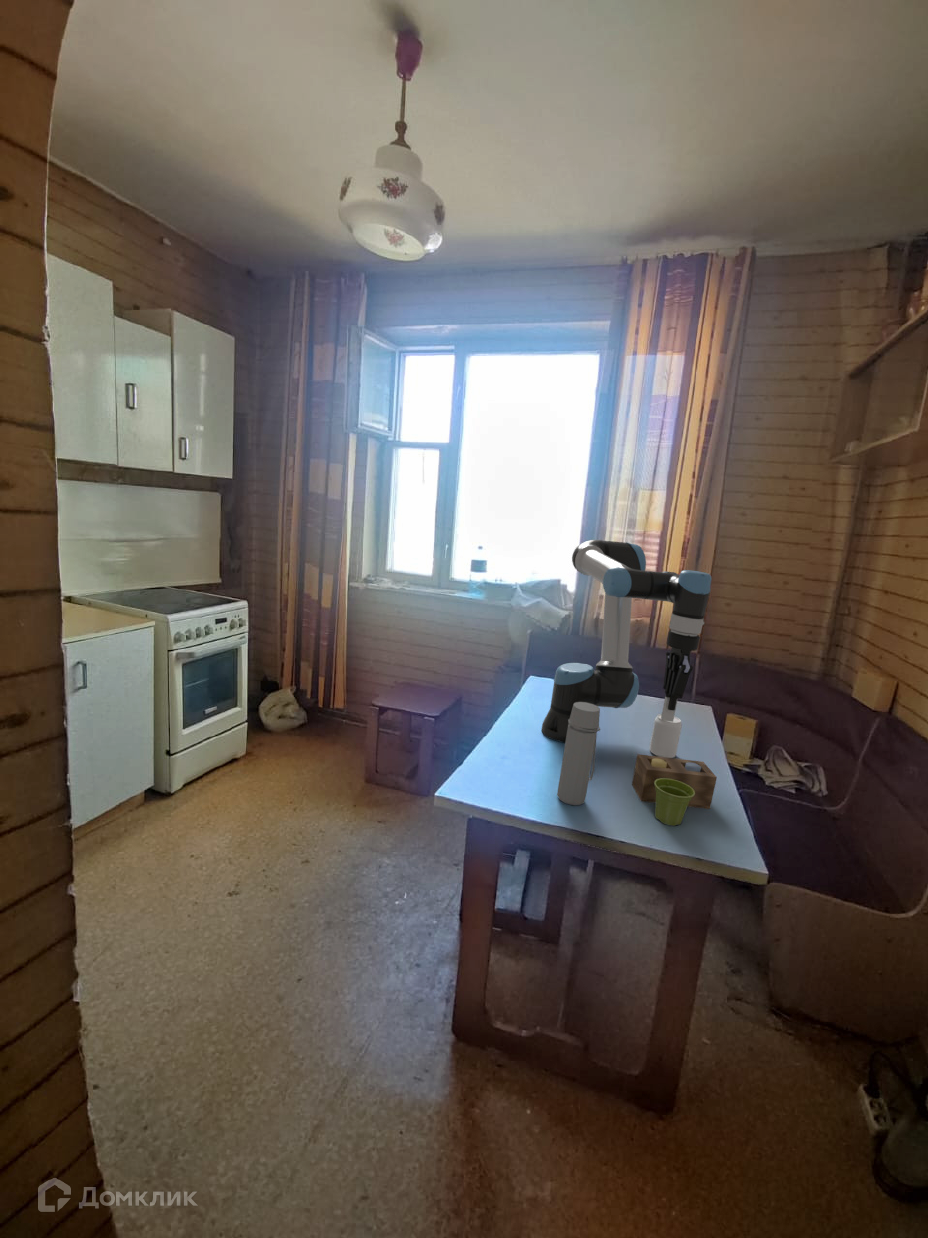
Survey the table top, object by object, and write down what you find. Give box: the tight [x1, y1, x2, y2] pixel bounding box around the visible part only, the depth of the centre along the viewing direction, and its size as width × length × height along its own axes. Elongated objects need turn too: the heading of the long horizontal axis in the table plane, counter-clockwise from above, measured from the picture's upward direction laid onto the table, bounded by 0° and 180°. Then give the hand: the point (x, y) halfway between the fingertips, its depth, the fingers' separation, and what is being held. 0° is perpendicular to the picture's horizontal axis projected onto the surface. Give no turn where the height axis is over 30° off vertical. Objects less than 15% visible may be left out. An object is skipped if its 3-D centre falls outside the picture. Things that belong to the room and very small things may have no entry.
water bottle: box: [556, 702, 601, 806], centre depth 144 cm, size 9×8×25 cm
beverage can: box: [648, 713, 683, 758], centre depth 180 cm, size 8×8×12 cm
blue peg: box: [685, 762, 701, 772], centre depth 152 cm, size 4×4×8 cm
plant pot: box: [654, 778, 695, 827], centre depth 141 cm, size 9×9×9 cm
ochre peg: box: [651, 758, 667, 768], centre depth 152 cm, size 4×4×8 cm
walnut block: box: [631, 754, 717, 810], centre depth 152 cm, size 18×9×9 cm, turn 89°
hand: (667, 719), depth 149 cm, fingers closed
